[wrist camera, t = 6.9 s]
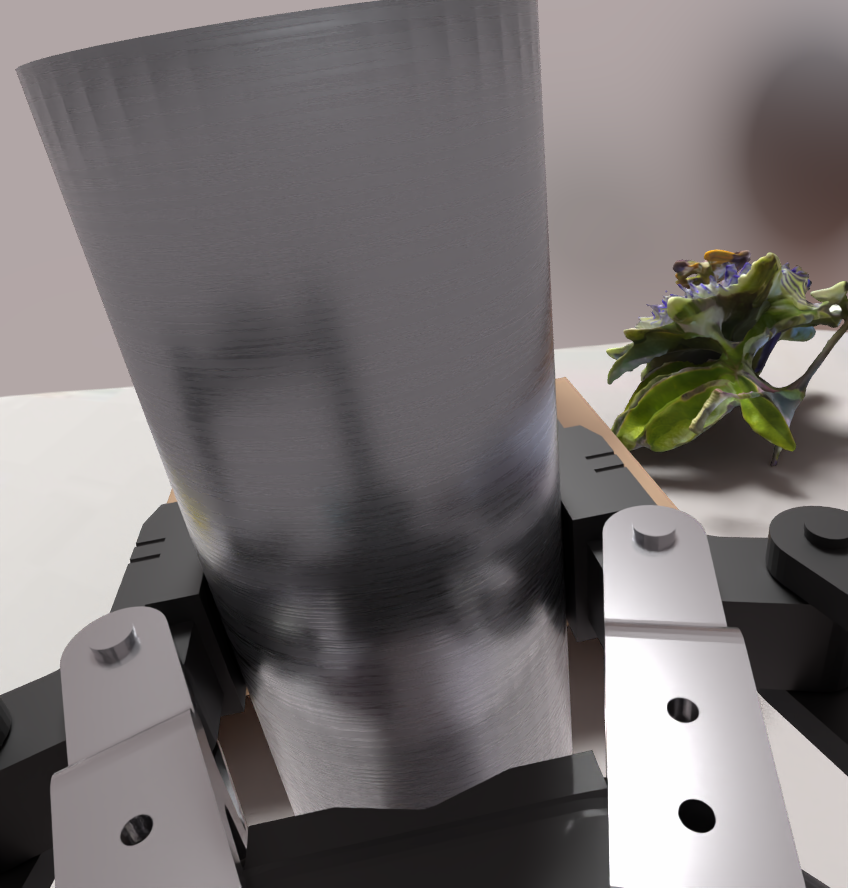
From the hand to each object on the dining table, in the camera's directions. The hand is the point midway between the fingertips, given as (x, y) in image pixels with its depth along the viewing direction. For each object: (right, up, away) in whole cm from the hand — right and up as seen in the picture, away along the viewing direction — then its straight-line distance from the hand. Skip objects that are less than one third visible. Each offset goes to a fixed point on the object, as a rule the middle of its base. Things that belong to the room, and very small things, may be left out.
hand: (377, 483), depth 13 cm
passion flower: (+17, +1, +24) cm, 30 cm away
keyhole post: (+2, -10, +3) cm, 10 cm away
